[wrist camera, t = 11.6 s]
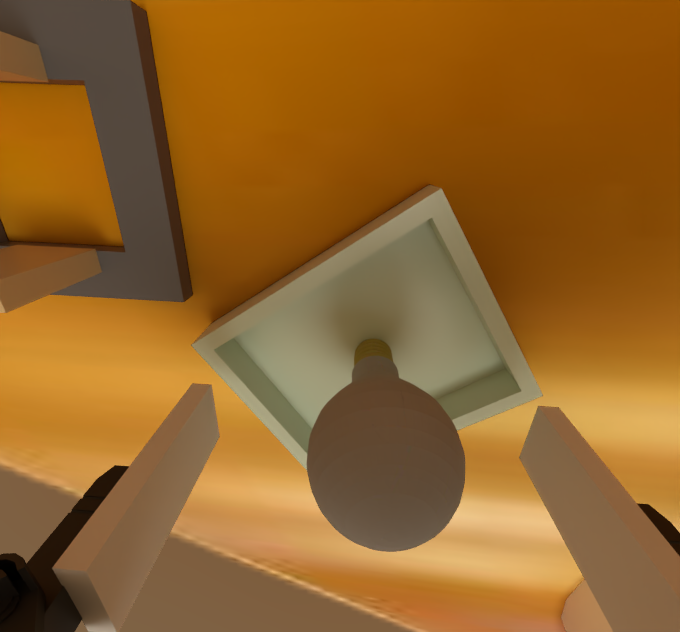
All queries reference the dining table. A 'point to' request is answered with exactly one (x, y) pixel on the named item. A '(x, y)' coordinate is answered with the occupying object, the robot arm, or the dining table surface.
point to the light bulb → (385, 457)
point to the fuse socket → (116, 147)
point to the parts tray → (374, 326)
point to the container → (583, 612)
